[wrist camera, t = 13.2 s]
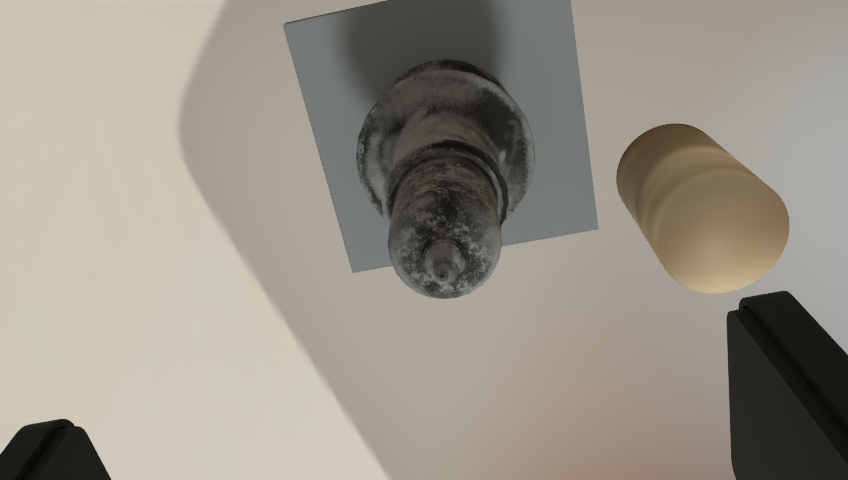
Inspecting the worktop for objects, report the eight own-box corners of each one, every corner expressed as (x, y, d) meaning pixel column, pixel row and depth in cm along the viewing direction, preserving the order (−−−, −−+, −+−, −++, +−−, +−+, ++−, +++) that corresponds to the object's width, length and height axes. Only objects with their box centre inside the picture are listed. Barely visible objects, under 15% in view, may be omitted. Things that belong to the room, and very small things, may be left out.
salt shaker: (351, 182, 28) (288, 355, 17) (388, 30, 25) (343, 116, 14) (496, 221, 28) (528, 414, 17) (547, 76, 26) (620, 193, 15)
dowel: (611, 134, 27) (653, 189, 22) (719, 114, 27) (789, 164, 21) (621, 229, 29) (662, 302, 23) (723, 211, 28) (789, 281, 23)
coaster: (286, 22, 26) (282, 25, 25) (563, -39, 25) (565, -38, 24) (354, 266, 30) (352, 272, 29) (595, 223, 29) (598, 229, 28)
